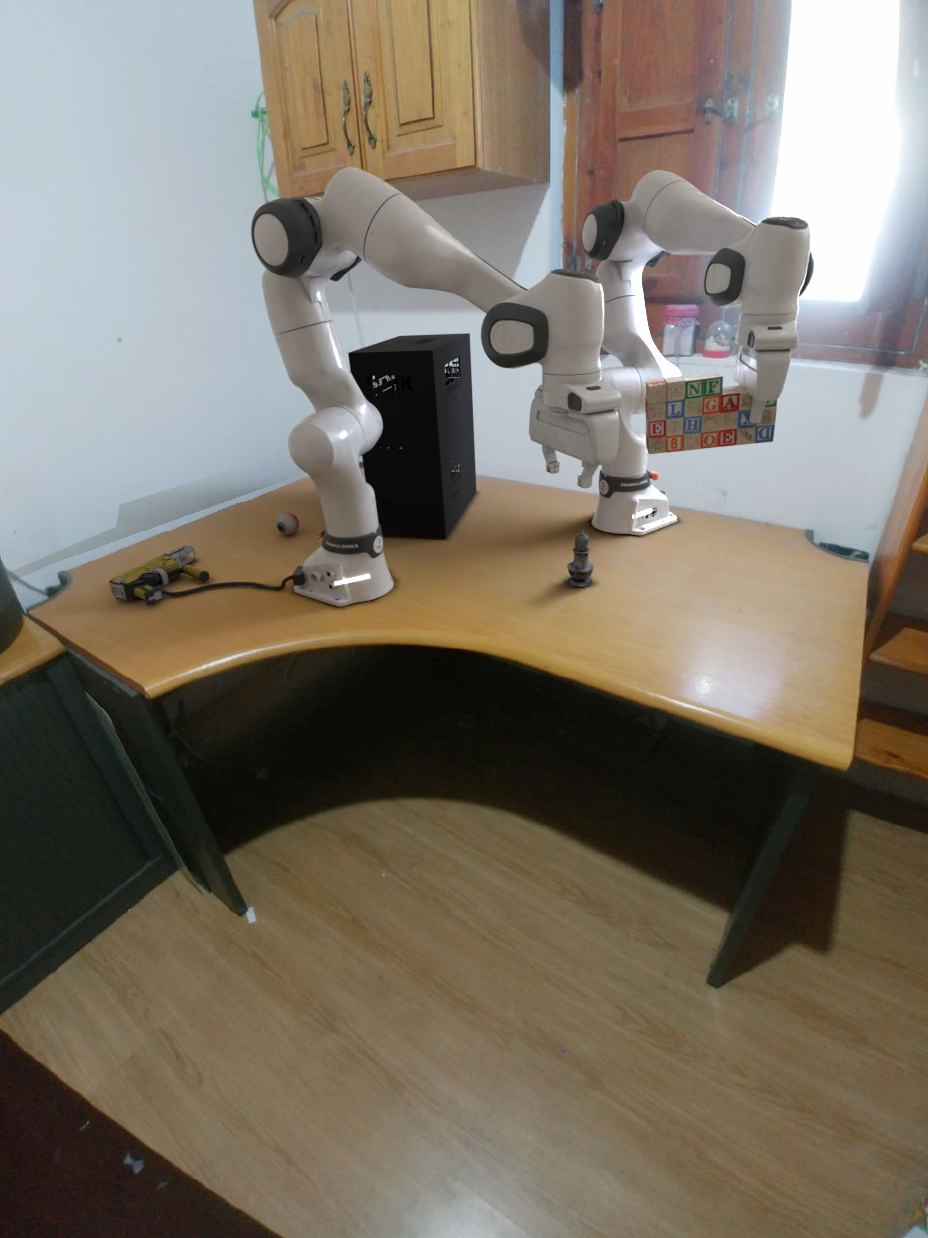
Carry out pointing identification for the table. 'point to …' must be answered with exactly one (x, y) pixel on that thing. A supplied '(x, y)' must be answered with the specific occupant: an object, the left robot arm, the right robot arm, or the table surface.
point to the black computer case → (419, 431)
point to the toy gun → (155, 576)
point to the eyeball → (287, 523)
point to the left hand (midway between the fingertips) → (567, 479)
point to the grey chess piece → (580, 562)
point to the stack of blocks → (702, 414)
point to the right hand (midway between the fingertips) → (749, 417)
